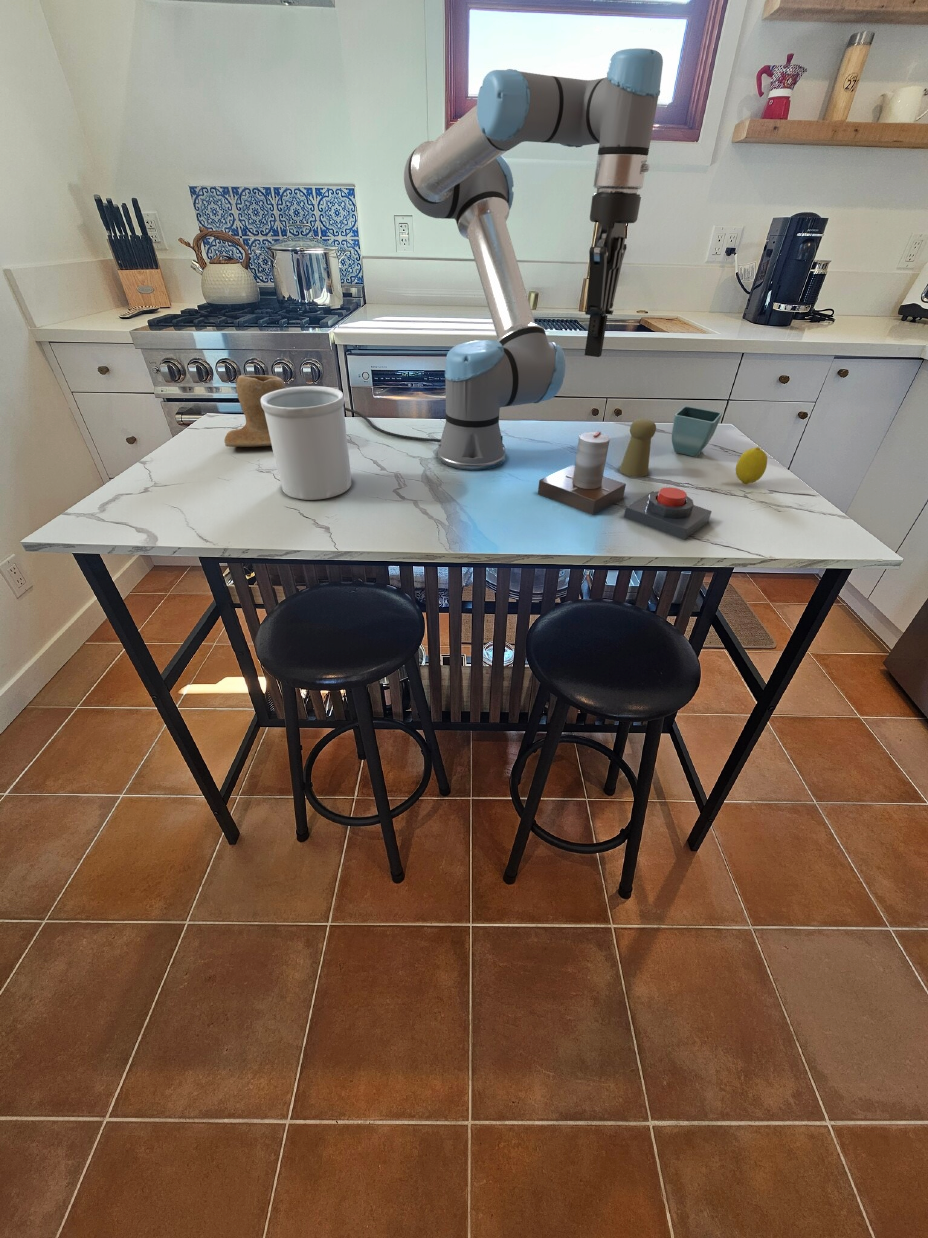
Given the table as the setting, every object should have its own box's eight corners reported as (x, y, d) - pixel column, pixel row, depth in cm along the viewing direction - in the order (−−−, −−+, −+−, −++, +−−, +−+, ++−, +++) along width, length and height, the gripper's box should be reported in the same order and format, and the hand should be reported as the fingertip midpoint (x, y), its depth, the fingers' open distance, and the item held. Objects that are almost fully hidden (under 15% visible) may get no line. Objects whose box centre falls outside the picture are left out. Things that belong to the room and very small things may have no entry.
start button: (652, 501, 99) (654, 492, 98) (664, 493, 102) (667, 484, 101) (676, 510, 97) (679, 500, 96) (689, 501, 100) (691, 492, 99)
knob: (595, 491, 104) (604, 442, 98) (568, 484, 106) (575, 437, 100) (605, 481, 108) (614, 434, 102) (578, 475, 110) (585, 428, 104)
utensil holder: (263, 485, 110) (244, 395, 100) (325, 465, 119) (313, 380, 108) (306, 509, 102) (289, 413, 92) (368, 485, 111) (360, 396, 100)
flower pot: (711, 450, 131) (723, 412, 125) (702, 462, 125) (714, 422, 119) (674, 442, 134) (684, 405, 129) (664, 453, 128) (674, 414, 123)
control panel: (537, 494, 110) (539, 479, 108) (569, 478, 116) (571, 464, 114) (592, 515, 103) (595, 499, 101) (623, 497, 109) (626, 482, 107)
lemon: (759, 482, 116) (772, 445, 111) (758, 492, 112) (772, 454, 107) (731, 477, 118) (743, 440, 113) (729, 486, 114) (742, 449, 109)
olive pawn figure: (648, 478, 117) (661, 426, 110) (619, 475, 118) (630, 423, 111) (646, 467, 122) (658, 417, 115) (619, 464, 122) (629, 414, 116)
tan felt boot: (298, 433, 135) (287, 367, 126) (295, 450, 126) (283, 381, 117) (234, 435, 133) (218, 369, 124) (226, 453, 123) (208, 383, 114)
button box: (623, 517, 102) (627, 497, 100) (650, 501, 108) (654, 482, 105) (683, 540, 96) (689, 519, 93) (708, 521, 101) (714, 501, 99)
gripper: (629, 190, 80) (601, 365, 94) (651, 192, 89) (623, 351, 103) (580, 190, 82) (560, 359, 97) (606, 191, 92) (584, 346, 106)
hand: (592, 355), depth 100 cm, fingers closed
